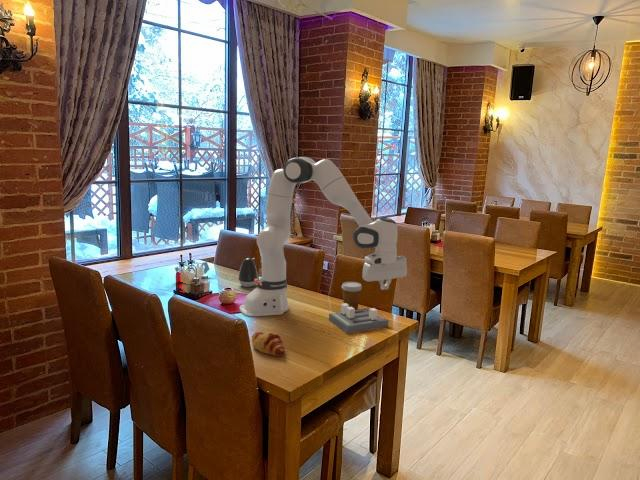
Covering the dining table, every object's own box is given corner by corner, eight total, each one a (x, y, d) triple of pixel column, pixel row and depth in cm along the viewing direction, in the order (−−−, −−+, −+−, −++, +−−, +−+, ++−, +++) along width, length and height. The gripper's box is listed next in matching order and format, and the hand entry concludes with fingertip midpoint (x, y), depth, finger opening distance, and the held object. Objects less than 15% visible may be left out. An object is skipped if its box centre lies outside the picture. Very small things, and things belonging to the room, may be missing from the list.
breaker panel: (346, 333, 193) (347, 326, 193) (328, 320, 207) (329, 313, 207) (388, 326, 202) (388, 319, 201) (368, 314, 216) (368, 307, 215)
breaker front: (372, 320, 199) (372, 310, 199) (368, 317, 202) (369, 308, 201) (377, 319, 200) (377, 310, 200) (373, 317, 203) (374, 308, 202)
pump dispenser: (262, 285, 255) (262, 257, 252) (249, 289, 247) (249, 261, 244) (247, 281, 260) (247, 254, 258) (234, 286, 252) (234, 258, 249)
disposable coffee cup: (359, 313, 217) (360, 288, 214) (339, 311, 218) (340, 286, 216) (362, 306, 226) (363, 282, 223) (342, 304, 228) (343, 280, 225)
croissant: (247, 349, 184) (238, 333, 181) (267, 332, 189) (258, 317, 185) (277, 368, 168) (268, 352, 164) (298, 350, 172) (289, 334, 169)
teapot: (202, 284, 254) (201, 264, 252) (174, 282, 255) (173, 263, 253) (210, 276, 269) (209, 257, 267) (183, 275, 270) (183, 256, 268)
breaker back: (343, 314, 205) (344, 305, 204) (340, 312, 207) (341, 303, 206) (348, 313, 206) (349, 305, 205) (345, 311, 208) (345, 303, 207)
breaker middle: (349, 318, 200) (349, 309, 200) (346, 316, 203) (346, 307, 202) (354, 317, 201) (354, 308, 201) (351, 315, 204) (351, 306, 203)
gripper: (402, 253, 205) (400, 284, 207) (360, 257, 196) (360, 289, 199) (411, 256, 199) (409, 288, 202) (368, 260, 191) (367, 294, 193)
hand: (384, 289), depth 200 cm, fingers closed
